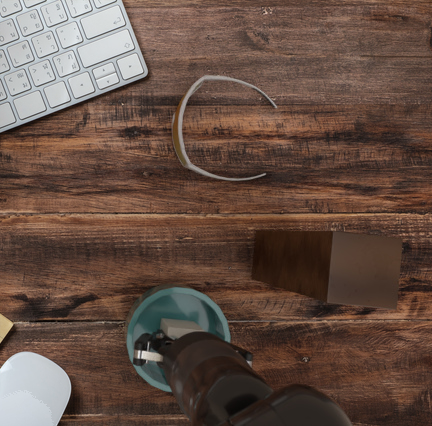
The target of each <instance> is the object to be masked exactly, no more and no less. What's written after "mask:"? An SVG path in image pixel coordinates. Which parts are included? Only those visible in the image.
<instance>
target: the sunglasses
mask: <svg viewBox="0 0 432 426" xmlns="http://www.w3.org/2000/svg"><path fill="white" fill-rule="evenodd" d="M205 81H207V82H213V81H215V82H217V81H227V82H229V81H230V82H235V83H237V84H240V85H243V86H245V87H248V88H250V89H251V90H254V91H255V92H257V93H258V94H259V95H260V96H262V97H263V98H264V99H265V100H266V101H267V102H268V104H270V105H271V107H272V108H273V109H278V106H277V104H275V102H274V101H273V100H272V99H271V98H270V97H269V95H268V94H266V93H265V92H264V91H263V90H261V89H260V88H259V87H258V86H255V85H253V84H251V83H248V82H246V81H244V80H241V79H238V78H233V77H229V76H225V75H212V74H211V75H210V74H204V75H203V76H201V77H200V78H198V79H197V80H196V81H195V82H194V83H193V84H192V85H191V86H190V87H189V89H187V91H186V92H185V93H184V95H183V96H182V97H181V99H180V100H179V103H178V105H177V106H176V110H175V112H174V113H173V115H172V119H171V137H172V144H173V148H174V151H175V153H176V156H177V159H178V160H179V162H180V164H181V166H182V167H183V168H185V169H189V170H190V171H193V172H194V173H197V174H199V175H201V176H205V177H209V178H212V179H217V180H223V181H232V182H242V181H250V180H253V179H257V178H258V179H259V178H261V177H263V176H266V175H267V173H266V172H265V173H260V174H257V175H253V176H249V177H242V178H241V177H240V178H235V177H234V178H233V177H224V176H221V175H217V174H213V173H211V172H208V171H206V170H204V169H202V168H200V167H198V166H196V165H194V164H193V163H192V162H191V160H190V159H189V156H188V154H187V152H186V149H185V148H186V147H185V143H184V137H183V118H184V113H185V109H186V107H187V103H188V100H189V98H190V97H191V96H192V95H193V94H194V93H195V92H196V91H198V90H199V89H200V88H201V87H202V85H203V83H204V82H205Z"/></svg>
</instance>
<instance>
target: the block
mask: <svg viewBox="0 0 432 426" xmlns="http://www.w3.org/2000/svg"><path fill="white" fill-rule="evenodd" d="M160 329H162V330H163V331H164V333H165V334H166V335H175V336H177V337H179V338H180V337H181V336H183V335H185V334H187V333H190V332H195V331H204V330H203V329H202V328H201V327H200V326H199V325H198V324H196V323H195V322H194V321H186V320H176V319H166V318H161V325H160Z"/></svg>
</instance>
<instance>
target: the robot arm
mask: <svg viewBox="0 0 432 426" xmlns="http://www.w3.org/2000/svg"><path fill="white" fill-rule="evenodd" d="M149 360H151V361H156V364H157V366H158V367H160V368H162V369H163V370H164V373H165V377H166V380H167V382H168V384H169V386H170V388H171V390H172V392H171V393H172V395H173V396H174V399H175V401H176V403H177V405H178V407H179V408H180V411H182V413H183V414H184V415H185V417H186V418H187V419H188V420H189V423H190V426H354V424H353V422H352V420H351V418H350V417H349V416H348V414H347V413H346V411H345V410H344V408H343V407H342V406H341V405H340V404H339V403H338V402H337V401H336V400H335V399H334V398H333V397H331V396H330V395H329V394H327V393H326V392H324V391H322V390H321V389H318V388H317V387H314V386H313V385H312V386H311V385H308V384H305V383H298V382H297V383H294V382H293V383H289V384H285V385H284V386H281V387H279V388H278V389H276V390H275V389H274V387H272V385H271V384H270V383H269V382H268V381H267V380H266V378H264V377H263V376H262V375H261V374H259V373H258V372H257V371H256V370H255V369H253V364H254V363H253V362H254V361H253V360H254V353H253V352H251V351H249V350H247V349H244V348H242V347H240V346H238V345H236V344H235V343H231V342H230V343H229V342H227V341H225V340H223V339H221V338H220V337H218V336H217V335H215V334H213V333H210V332H205V331H195V332H190V333H187V334H185V335H183V336H181V337H180V338H179V337H177V336H175V335H166V334H165V333H164V331H163V330H162V329H157V332H153V333H152V335H151V334H149V333H143V334H142V335H141V336H140V337H139V338H138V339H137V340H136V341H135V345H134V354H133V364H134V365H136V366H142V365H144V363H146V364H148V363H149ZM133 364H132V365H133Z"/></svg>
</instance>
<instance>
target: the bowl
mask: <svg viewBox="0 0 432 426" xmlns="http://www.w3.org/2000/svg"><path fill="white" fill-rule="evenodd" d="M161 318H166V319H176V320H186V321H194V322H195V323H196V324H198V325H199V326H200V327H201V328H202V329H203V330H204V331H205V332H210V333H213V334H215V335H217V336H218V337H220V338H221V339H223V340H225V341H227V342H229V343H231V338H232V337H231V332H230V327H229V322H228V319H227V318H226V316H225V314H224V312H223V310H222V309H221V307H220V306H219V304H217V303H216V302H215V301H214V300H213V299H212V298H211V297H210V296H208V294H206V293H204V292H202V291H200V290H198V289H196V288H193V287H192V286H189V285H187V284H182V283H172V282H170V283H163V284H159V285H156V286H153V287H151V288H149V289H147V290H146V291H144V292H143V293H142V294H141V295H140V296H138V298H137V299H136V300H135V301H134V302H133V303H132V305H131V306H130V308H129V311H128V312H127V315H126V317H125V322H124V331H123V333H124V334H123V338H124V342H125V347H126V352H127V355H128V358H129V361H130V363H131V364H132V366H133V368H134V370H135V371H136V373H137V375H138V376H140V377H141V378H142V379H143V380H144V381H145V382H146V383H148V384H149V386H152V387H154V388H156V389H159V390H161V391H163V392H168V393H173V392H172V390H171V388H170V386H169V384H168V382H167V380H166V377H165V373H164V370H163V369H162V368H160V367H158V366H157V364H156V361H151V360H149V363H148V364H146V363H144V365H142V366H136V365H134V364H133V354H134V345H135V341H136V340H137V339H138V338H139V337H140V336H141V335H142V334H143V333H149V334H151V335H152V333H153V332H157V329H160V325H161Z"/></svg>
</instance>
